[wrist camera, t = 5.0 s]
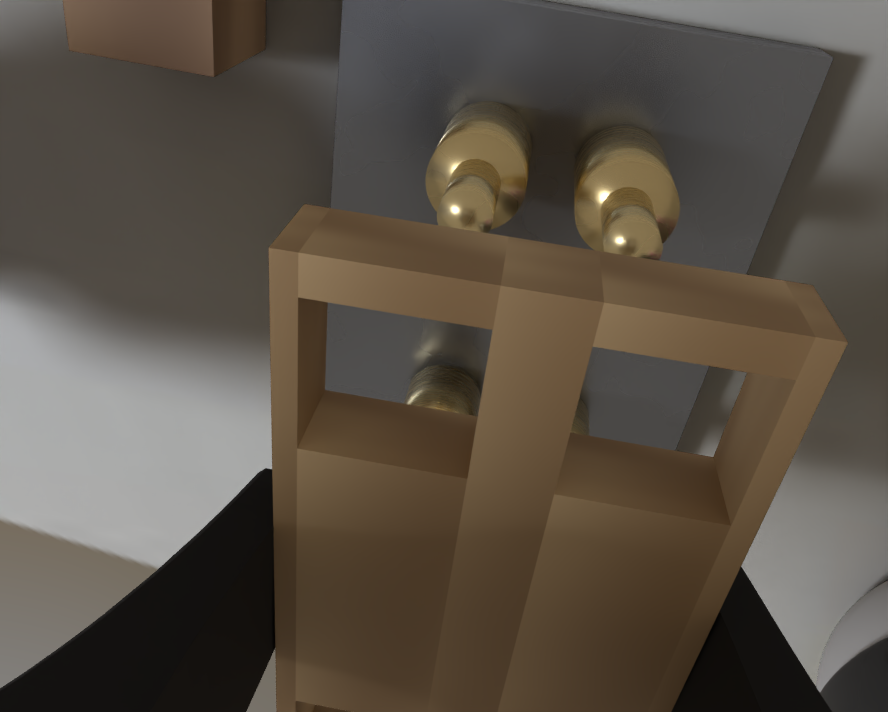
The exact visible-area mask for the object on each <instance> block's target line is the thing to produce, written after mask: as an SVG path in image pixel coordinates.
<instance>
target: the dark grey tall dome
mask: <svg viewBox="0 0 888 712" xmlns="http://www.w3.org/2000/svg"><path fill="white" fill-rule="evenodd" d="M816 688H817V689H818V691H819V692H820V694H821V695H822V697H823V698H824V700H825V701H826V703H827V704H828V706H829V707H830V709H831V710H832V712H888V581H886V582H884V583H882V584H881V585H879V586H877V587H876V588H874V589H873V590H871V591H870V592H868V593H867V594H866V595H864V596H863V597H862V598H861V599H859V600H858V601H857V602H856V603H855V604H854V605H853V606H852V607H851V608H850V609H849V610H848V611H847V612H846V614H845V615H844V616H843V617H842V618H841V620H840V621H839V623H838V624H837V625H836V627H835V629H834V630H833V632H832V634H831V636H830V637H829V640H828V642H827V644H826V646H825V649H824V651H823V654H822V658H821V661H820V665H819V669H818V676H817V683H816Z"/></svg>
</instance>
